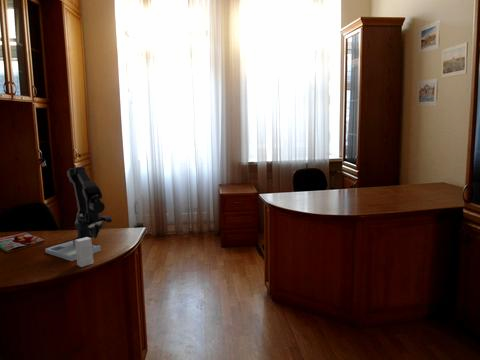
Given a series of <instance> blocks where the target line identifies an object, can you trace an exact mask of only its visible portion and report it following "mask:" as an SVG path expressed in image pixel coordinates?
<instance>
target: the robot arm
mask: <svg viewBox="0 0 480 360" xmlns="http://www.w3.org/2000/svg"><path fill="white" fill-rule="evenodd" d="M66 175H67V178H68V179H69V180H68V181H69V182H70V184H72V185H73V188H74V194H75V199H76V204H77V209H78V210H77V213H76V215H75V216H76V218H75V221H74V229H75V230H77V236H76V237H77V239H81V238H85V237H89V238H92V237H93V239H94V240H95V239H97V238H98V236H99V233H100V231H101V229H102V227H103V226H104V224H102V223H103V222H105V223H107V224H108V223H111V222H113V220H112V219H113V218H112V217H111V216H110V215H102V216H100V214H101V213H102V212H104V210H105V208H106V205H105V204H104V202H102V201H101V199H103V193H102V190H101V189H100V187H99V186H98V185H97V184H96V182H94V181H92V180H91V178H90V176H89V175H88V173H87V172H86V167H85V166H76V167H73V168H69V169H68V170H67V171H66Z"/></svg>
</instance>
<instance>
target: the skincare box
mask: <svg viewBox="0 0 480 360" xmlns="http://www.w3.org/2000/svg"><path fill="white" fill-rule="evenodd" d="M74 240H75V247H76V256H77V260H76V263H77V264H76V265H77V266H78V267H80V268H84V267H86V266H90V265H93V264H94V254H93V251H92V245H93V243H92V237H90V238H89V237H85V238H77V239H74Z"/></svg>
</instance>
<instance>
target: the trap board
mask: <svg viewBox="0 0 480 360" xmlns="http://www.w3.org/2000/svg"><path fill="white" fill-rule="evenodd" d="M74 240H75V239H73V240H70V241H66V242H63V243H59V244H57V245H53V246H50V247H46V248H45V250H44V251H45V253H46V254H49V255H51V256H55V257H58V258H61V259H63V260H67V261H70V262H73V261H77V256H76V247H75V246H73V241H74ZM92 251H93V255H94V254H96V253H99V251H100V252H101V251H102V248H101V245H94V244H92Z"/></svg>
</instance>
